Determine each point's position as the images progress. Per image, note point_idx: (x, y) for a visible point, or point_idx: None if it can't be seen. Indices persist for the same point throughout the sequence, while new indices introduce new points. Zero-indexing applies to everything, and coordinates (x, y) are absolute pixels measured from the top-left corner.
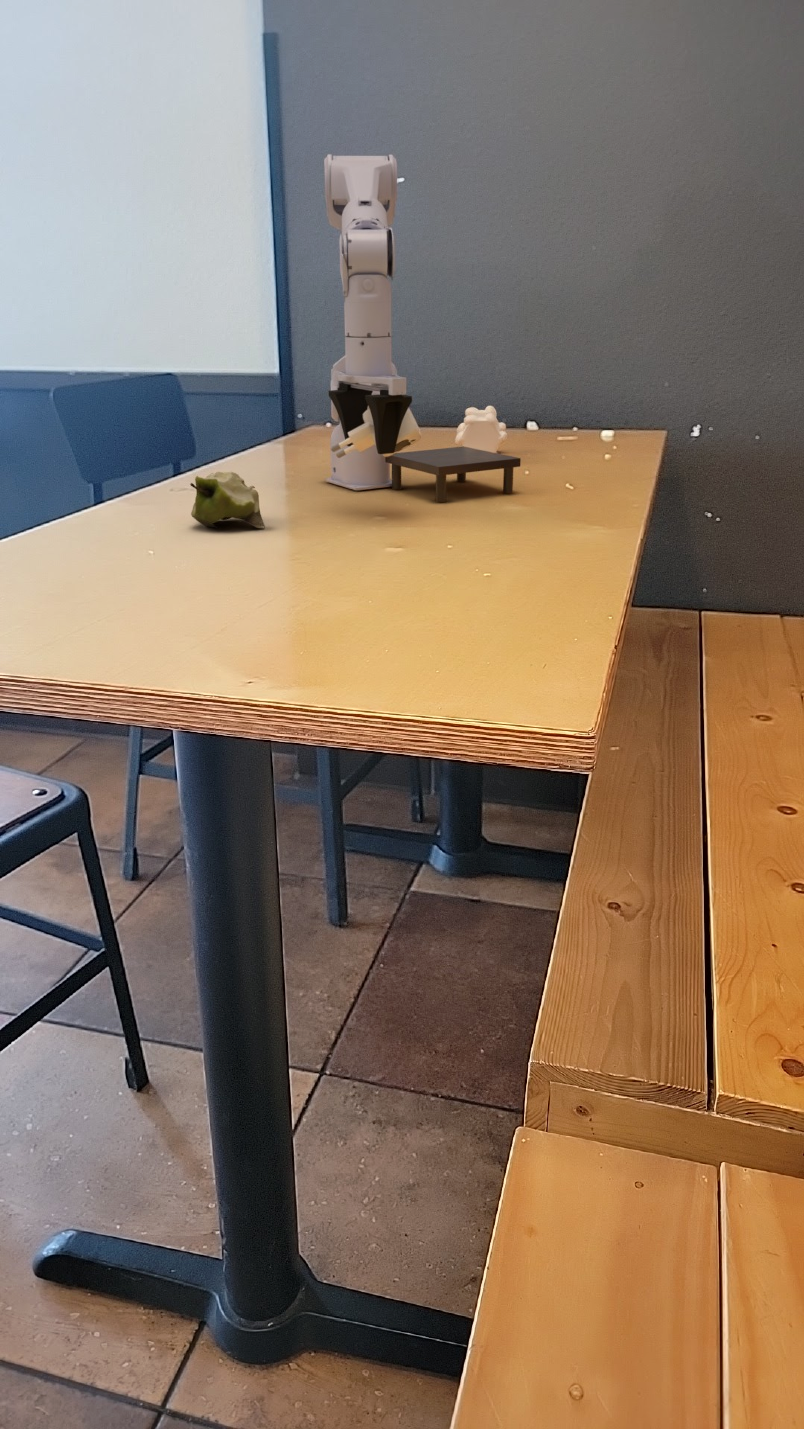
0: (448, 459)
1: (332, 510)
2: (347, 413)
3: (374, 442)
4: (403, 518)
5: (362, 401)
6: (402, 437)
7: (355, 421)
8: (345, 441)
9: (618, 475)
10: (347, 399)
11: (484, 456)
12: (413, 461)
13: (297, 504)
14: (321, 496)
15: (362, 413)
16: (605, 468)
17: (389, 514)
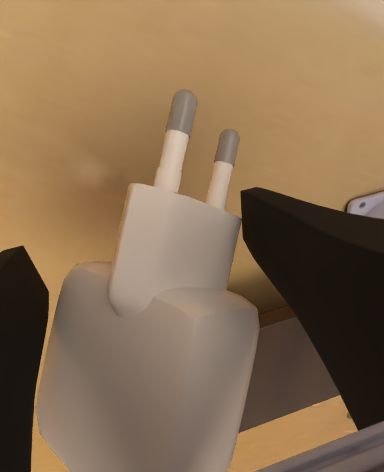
0: (264, 367)
1: (215, 94)
2: (316, 257)
3: (98, 266)
4: (73, 217)
5: (340, 363)
6: (44, 360)
7: (290, 267)
8: (164, 163)
9: (244, 461)
10: (371, 312)
11: (258, 407)
12: (286, 319)
13: (321, 32)
14: (358, 123)
15: (307, 316)
16: (281, 454)
17: (124, 202)
